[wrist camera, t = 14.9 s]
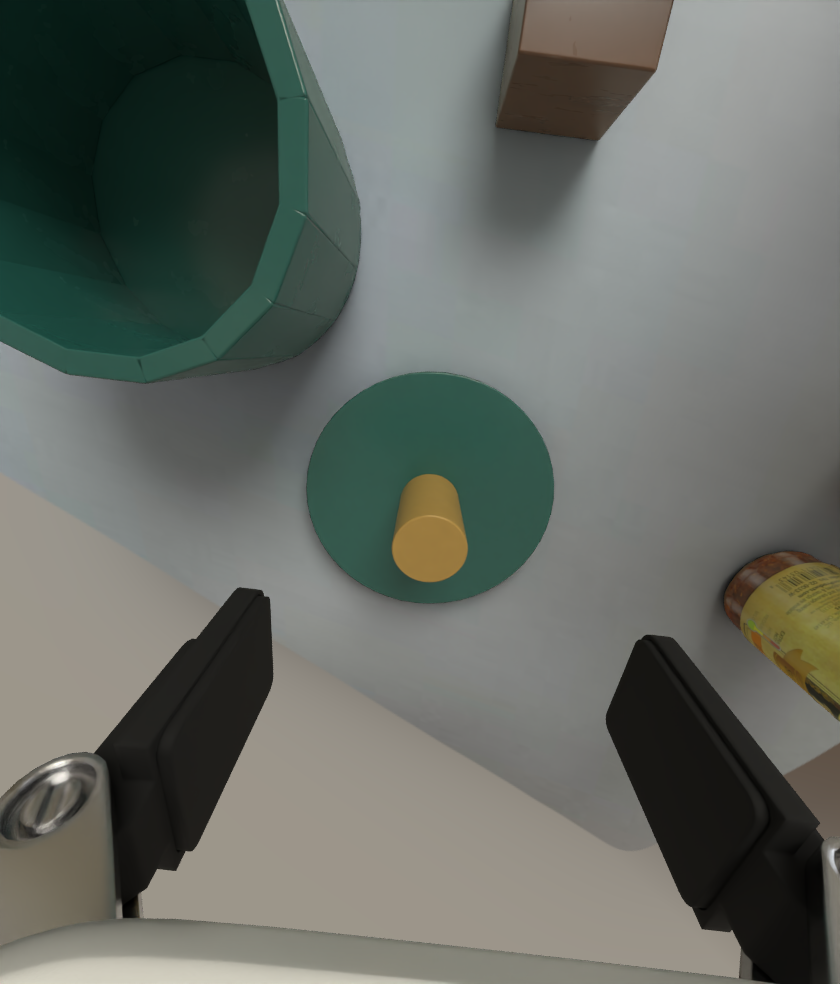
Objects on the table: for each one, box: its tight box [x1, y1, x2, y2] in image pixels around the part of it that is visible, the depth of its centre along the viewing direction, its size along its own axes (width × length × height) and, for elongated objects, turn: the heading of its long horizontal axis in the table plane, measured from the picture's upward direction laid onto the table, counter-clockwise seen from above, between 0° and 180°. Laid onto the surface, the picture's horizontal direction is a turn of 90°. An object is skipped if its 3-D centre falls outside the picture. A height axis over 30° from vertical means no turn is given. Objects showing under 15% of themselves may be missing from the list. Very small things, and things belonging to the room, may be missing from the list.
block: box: [495, 0, 674, 140], centre depth 14 cm, size 4×4×4 cm
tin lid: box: [307, 372, 554, 603], centre depth 19 cm, size 14×14×7 cm
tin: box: [0, 0, 361, 384], centre depth 14 cm, size 13×13×8 cm
